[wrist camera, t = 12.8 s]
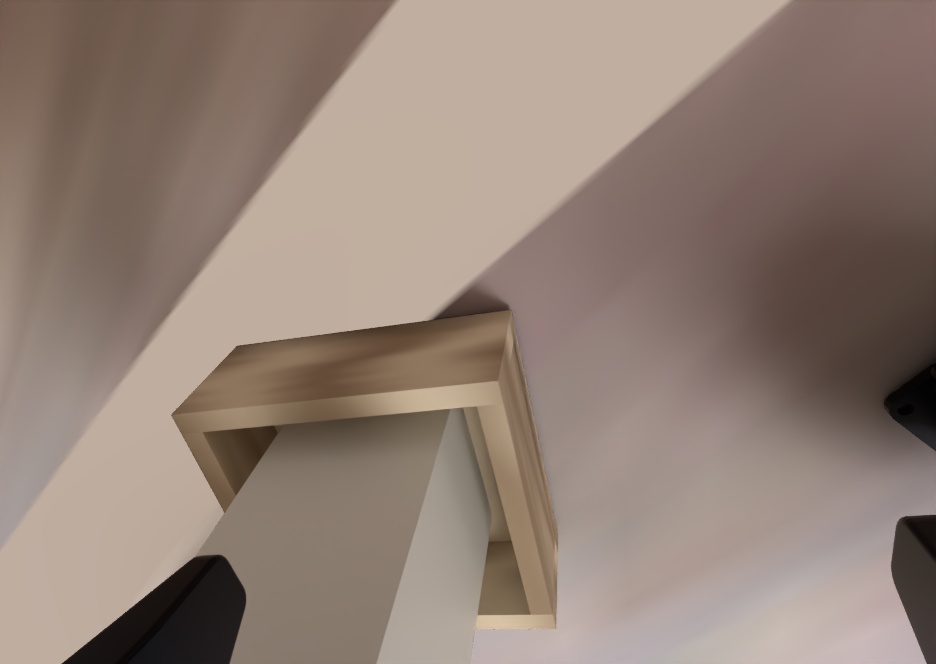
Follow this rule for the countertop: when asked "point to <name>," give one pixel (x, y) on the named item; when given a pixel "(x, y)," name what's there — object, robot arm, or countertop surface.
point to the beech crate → (392, 392)
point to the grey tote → (360, 543)
